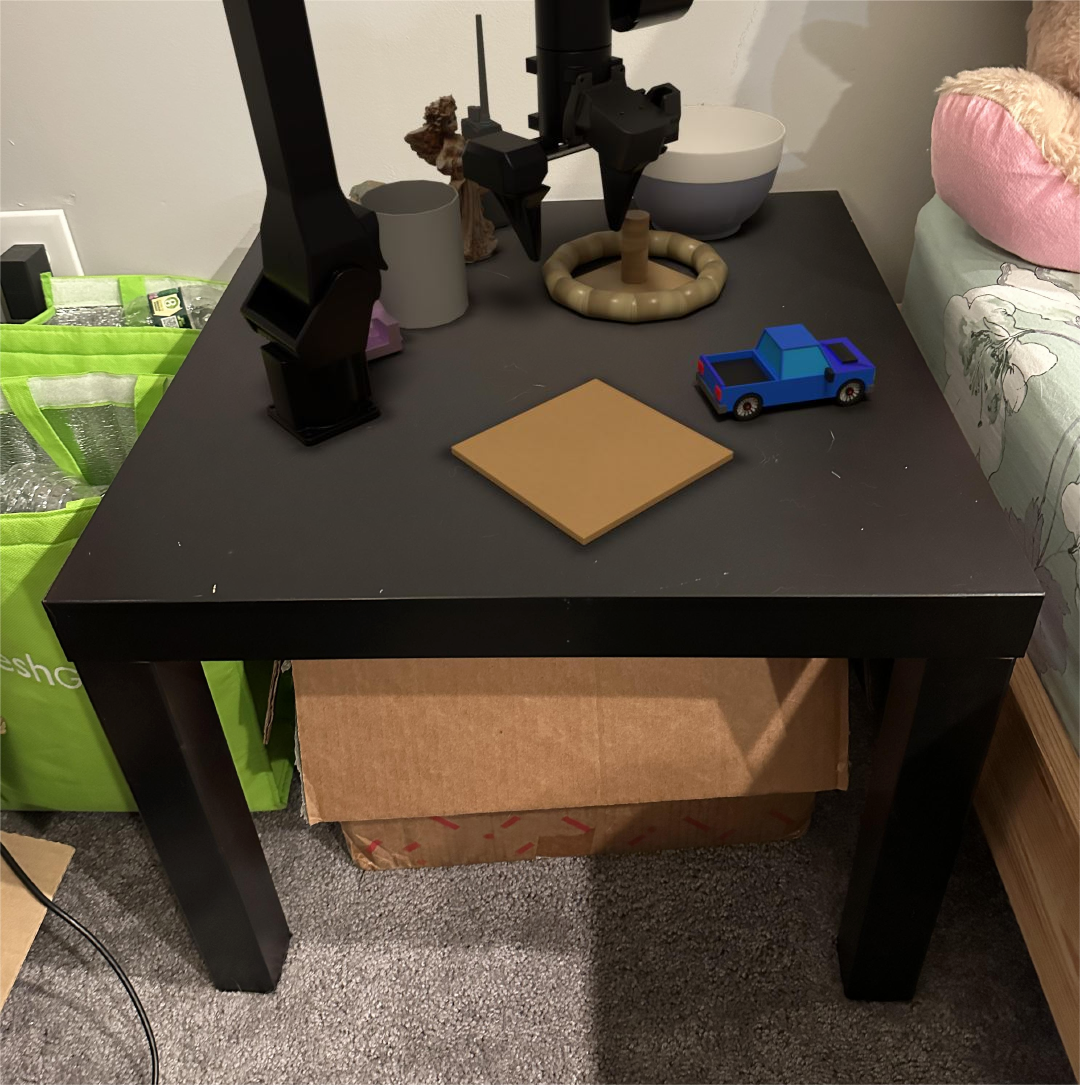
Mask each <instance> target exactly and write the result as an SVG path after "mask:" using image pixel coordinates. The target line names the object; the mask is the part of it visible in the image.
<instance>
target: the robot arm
mask: <svg viewBox="0 0 1080 1085" xmlns="http://www.w3.org/2000/svg"><path fill="white" fill-rule="evenodd" d="M221 1H222V6H223V10H224V14H225V18H226V23H227V26H228V31H229V36H230V39H231V44H232V47H233V51H234V56H235V60H236V63H237V69H238V72H239V78H240V82H241V84H242V89H243V94H244V98H245V102H246V106H247V110H248V114H249V118H250V122H251V126H252V131H253V135H254V139H255V143H256V147H257V151H258V155H259V160H260V165H261V168H262V173H263V177H264V181H265V186H266V194H265V200H264V205H263V210H262V214H261V219H260V224H259V236H260V248H261V249H260V250H261V259H262V269H261V270H260V272H259V274H258V276H257V277H256V279H255V281H254V283H253V284H252V286H251V288H250V290H249V292H248V293H247V295H246V297H245V299H244V301H243V302H242V304H241V306H240V308H239V312H240V314H241V315H242V317H243V318H244V320H245V322H246V323H247V324H248V326H249V327H250V329H251V330H252V331H253V332H254V333H256V334H259V335H261V336H262V337H264V338H265V339H266V340H267V341H269V342H268V343H265V344H263V345H260V347H259V348H260V353H261V356H262V357H261V358H262V362H263V364H264V368H265V373H266V377H267V381H268V386H269V390H270V393H271V398H272V401H273V403H271V404H268V405H267V406H266V413H267V414H268V415H269V417H271V418H272V419H273V420H275V421H276V422H278V423H279V424H280V425H281V426H282V427H283V428H284V429H286V430H287V431H288V432H290V433H291V435H293V436H295V438H297V439H298V440H299V441H301V442H302V443H303V444H305V445H313V444H316V443H318V442H320V441H323V440H325V439H327V438H329V437H332V436H334V435H336V434H339V433H341V432H343V431H345V430H348V429H350V428H352V427H355V426H357V425H359V424H361V423H364V422H367V421H368V420H371V419H373V418H375V417H377V416H379V415H380V414H381V407H380V405H378V404H377V403H375V402H374V401H372V400H371V398H372V396H373V388H372V382H371V374H370V371H369V365H368V361H367V358H366V352H365V350H366V348H367V342H368V336H369V330H370V324H371V317H372V311H373V305H374V303H375V302H376V301H377V300H379V298H380V295H381V290H382V278H381V273H380V270H384V271H387V270H388V265H387V264H386V262H385V260H384V259H383V256H382V253H381V249H380V236H379V222H378V218H377V215H376V212H374V211H373V210H370V209H368V208H366V207H364V206H362V205H360V204H358V203H356V202H354V201H352V200H350V198H347V196H346V195H345V193H344V190H343V189H342V186H341V183H340V180H339V176H338V171H337V165H336V159H335V153H334V148H333V144H332V139H331V134H330V128H329V123H328V118H327V112H326V106H325V102H324V96H323V92H322V86H321V81H320V80H321V79H320V76H319V69H318V64H317V60H316V54H315V49H314V44H313V38H312V33H311V29H310V28H311V27H310V23H309V17H308V12H307V6H306V2H305V1H306V0H221ZM694 1H695V0H534V29H535V30H534V31H535V55H532V56H528V57H525V73H528V74H531V75H535V76H536V90H537V93H536V96H537V111H536V112H533V113H529V114H527V127H528V128H527V129H529V130H533V131H536V132H538V136H537V137H533V138H526V137H524V136H521V135H518V134H514V133H512V132H508V131H505V130H503V131H500V132H497V133H493V134H490V135H486V136H483V137H479V138H475V139H472V140H469V141H468V143H467V144H466V146H465V147H464V149H463V152H462V168H463V178H465V179H468V180H470V181H473V182H475V183H478V185H479V186H481V187H484V188H486V189H489V190H491V192H492V193H493V195H494V196H495V198H496V199H497V201H498V202H499V204H500V205H501V207H502V208H503V210H504V212H505V214H506V215H507V217H508V219H509V224H510V225H511V228H512V229H513V231H514V232H515V235H516V237H517V238H518V240H519V243H520V244H521V246H522V248H523V250H524V253H525V254H526V257H527V258H528V259H529V261H531V262H533V263H539V262H540V261H541V256H542V247H543V246H542V202H543V201H544V199H545V197H546V196H547V194H548V193H549V191H550V190H551V188H552V187H551V186H550V185H547V184H545V183H543V182H544V181H545V178H546V177H547V175H548V173H549V162H552V161H555V160H558V159H561V158H564V157H569V156H571V155H573V154H577V153H581V152H584V151H587V150H591V149H593V151H595V152H596V153H597V157H598V164H599V171H600V172H599V173H600V179H601V188H602V196H603V204H604V211H605V217H606V222H607V226H608V229H609V231H614V232H619V231H620V230H622V225H623V222H624V219H625V217H626V214H627V211H629V208H630V205H631V203H632V201H633V194H634V192H635V189H636V186H637V184H638V182H639V179H640V177H641V175H642V172H643V170H644V169H645V167H646V166H647V165H648V164H649V163H651V162H654V161H656V160H657V159H658V157H659V155H661V154H664V153H665V152H666V151H667V148H668V147H667V146H665V144H669V143H672V142H675V141H678V137H679V121H680V118H681V106H682V95H681V94H682V93H681V92H682V91H681V90H680V89H679V88H677V87H676V86H675V85H673V83H672V82H669V81H668V82H665V83H661V84H657V85H654V86H652V87H651V88H650V89H649V90H648V91H647V90H646V89H645V88H644V87H642V88H638V89H632V88H631V87H630V86H628V84H627V80H626V79H627V78H626V65H624V58H623V57H619V56H615V55H613V54H612V53H613V50H612V48H613V31H614V32H616V33H620V34H621V33H629V32H632V31H637V30H640V29H645V28H649V27H653V26H657V25H661V24H666V23H669V22H674V21H677V20H678V21H679V20H680V19H682V18H683V17H685V15H686V14H687V13H688V12H689V11H690V9H691V7H692V5H694V4H693V3H694Z"/></svg>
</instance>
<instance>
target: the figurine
mask: <svg viewBox="0 0 1080 1085" xmlns="http://www.w3.org/2000/svg"><path fill="white" fill-rule="evenodd" d="M456 102H457V101H456V99H455V98H454V96H453V93H451V94H450V95H443V96H439V98H438V99H436V100H435V101H431V102H430V103H429V105H426V106H425V107H424V115H423V116H422V119H423V120H424V121H425V122H424V123H423V124H422V126H420V127H419V128H417V129H414V130H411V131H409V132H407V133H406V135H405V136H404V137H403V140H404V142H405V143H406V144H408V145H409V147H410V150H411V151H412V152H415V153H416V156H417V157H418V158H419V159H422V160H424V162H426V164H428V165H429V166H431V167H432V166H433V167H436V171H438V172H439V173H440V174H442V175H443V176H448V177H450V180H449V183H447V184H448V185H450V186H453V187H455V189H456V191H457V192H458V194H459V203H460V215H461V226H462V237H463V248H464V259H465V264H473V263H474V262H476V261H483V260H485V259H488V258H491V257H492V256H493V255H494V254H495V250H496V249H497V248H498V244H499V239H498V238H497V237H496V236H495V235H494V234H493V233H494V231H495V229H494V225H493V223H492V222H491V221H488V220H487V219H485V218H484V217H483V212H484V208H483V207H482V205H481V200H482V198H483V196H484V195H486V194H487V193H488V192H489V189H486V188H484V187H481V186H479V185H478V183H475V182H473V181H470V180H468V179H465V178H463V168H462V152H463V149H464V147H465V146H466V144H467V143H468V141H469V139H468V140H467V141H465V139H464V137H463V136H462V133H456V132H457V131H458V130H459V127H458V126H459V123H458V116H457V114H456V111H457V110H458V106H457V105H456Z"/></svg>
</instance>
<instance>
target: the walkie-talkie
mask: <svg viewBox="0 0 1080 1085" xmlns="http://www.w3.org/2000/svg"><path fill="white" fill-rule="evenodd" d="M474 17H475V33H476V35H475V36H476V51H477V53H476V54H477V73H478V74H477V75H478V90H479V91H478V92H479V105H468V106H467V107H466V108H467V117H463V118H461V119H460V131H461V133H460V134H461V135H462V136H463V137H464V139H465V141H467V140H468V139H469V140H472V139H475V138H479V137H483V136H486V135H490V134H493V133H497V132H500V131H504V130H503V126H502V124H501V123H499V122H497V121H495V120H494V119H491V114H490V113H491V112H490V105H489V93H488V80H487V68H486V67H487V66H486V54H485V42H484V30H483V16H482V14H481V13H477V14H475V16H474ZM481 205H482V207H483V208H484V212H483V217H484V218H485V219H487V220H488V221H491V222H492V223H493V225H494V230H495V229H499V228H503V227H507V226H509V225H510V221H509V219H508V217H507V215H506V214H505V212H504V210H503V208H502V207H501V205H500V204H499V202H498V201H497V199H496V198H495V196H494V195H493V193H492V192H491V190H489V192H488V193H487V194H486V195H484V196H483V198H482V200H481Z"/></svg>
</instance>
